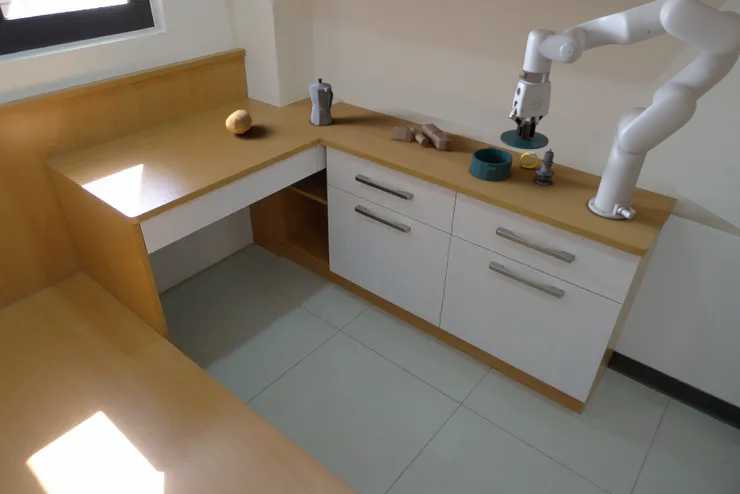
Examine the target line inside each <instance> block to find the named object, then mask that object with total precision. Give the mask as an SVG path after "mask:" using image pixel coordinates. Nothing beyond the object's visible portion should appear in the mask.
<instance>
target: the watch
mask: <svg viewBox="0 0 740 494" xmlns="http://www.w3.org/2000/svg"><path fill="white" fill-rule="evenodd" d="M527 155H528V156H531V157H533V156H534V157H535V158H536V161H535V163H534V164H532V165H531V166H530V165H524V164H523V162H522V161H523V158H524V157H526V156H527ZM519 163H520V166H521V167H522V168H524V169H530V170H532V169H534V168H536V166H537V165H538V164H539V157H538V155H537V154H536V152H535V151H533V150H526V152H524V153H523V154H522V155H520V158H519Z"/></svg>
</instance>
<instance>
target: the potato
mask: <svg viewBox="0 0 740 494" xmlns="http://www.w3.org/2000/svg"><path fill="white" fill-rule="evenodd" d="M252 124H253V119H252V116H251V114H250V112H248V111H247V110H245V109H237V110H236V111H234V112H232V113H231V114H230V115H229V116H228V117H227V118H226V120H225V127H226V129H227V130H228V131H229V132H230V133H233V134H235V135H241V134H244V133H247V131H248V130H250V129H251V128H252Z"/></svg>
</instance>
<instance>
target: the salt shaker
mask: <svg viewBox="0 0 740 494" xmlns="http://www.w3.org/2000/svg"><path fill="white" fill-rule="evenodd" d="M554 156H555V152H553V150H552V148H549V150H546V151H545V152H544V156H543V159H542V160H541V162H542V164H541V167H540V168H537V169H536V170H535V172H536V177H537V178H535V179H534V182H535V183H536V184H537V185H541V186H550V185H552V181H551V179H552V178H553V176H554V175H555V171H554V170H552V166H553V164H554Z"/></svg>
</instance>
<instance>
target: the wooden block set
mask: <svg viewBox="0 0 740 494" xmlns="http://www.w3.org/2000/svg"><path fill="white" fill-rule="evenodd" d="M412 138H414V140H415V141H416V142H417V143H419V145H420V146H421V147H426V146H428V145H429V143H430V144H433V146H435V147H436V148H437V149H438V150H442V151H450V150H451V146H452V140H451V139H450V138H449V137H448V136H447V135H446V134H444V132H443V131H442V130H441V129H440V128H439V127H437V125H436V124H434V123H425V124H422V127H421V131H420V130H418V128H416V127H414V126H412V127H411V128H410V127H408V126H407V125H403V126H394V127H393V128H392V140H395V141H402V142H407V143H411V139H412Z"/></svg>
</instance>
